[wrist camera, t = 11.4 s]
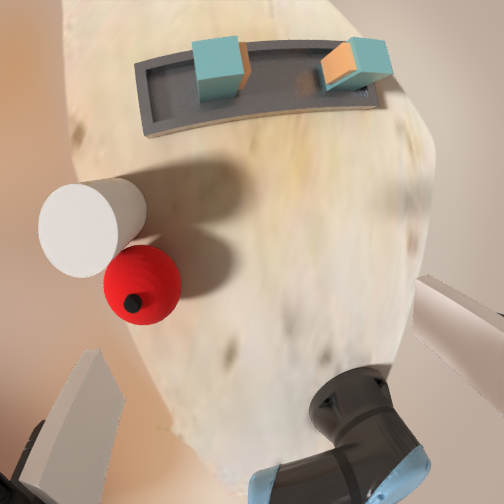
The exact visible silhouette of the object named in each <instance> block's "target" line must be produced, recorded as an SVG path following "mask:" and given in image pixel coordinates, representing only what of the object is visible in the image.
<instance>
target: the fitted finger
mask: <svg viewBox="0 0 504 504" xmlns="http://www.w3.org/2000/svg"><path fill="white" fill-rule="evenodd" d="M321 65H322V70H323V74H324V79H325V83H326V88H327V91H355V90H357V89H360V88H362V87H364V86H366V85H369V84H371V83H373V82H376V81H378V80H380V79H383V78H385V77H388V76H390V75H392V74H393V70H392V66H391V62H390V58H389V55H388V51H387V48H386V45H385V41H383V40H375V39H367V38H358V37H352V38H350V39H349V40H348V41H346V42H343V43H342V44H340V45H339V46H338V47H337V48H335V49H334V50H333V51H332V52H331V53H329V54H328V55H327V56H326V57H325V58H323V59H322V60H321Z"/></svg>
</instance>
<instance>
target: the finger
mask: <svg viewBox="0 0 504 504" xmlns="http://www.w3.org/2000/svg"><path fill="white" fill-rule="evenodd" d="M192 48H193V57H194V65H195V73H196V79H197V86H198V92H199V98H200V103H202V102H207V101H213V100H219V99H226V98H233V97H235V96H236V93H237V91H238V90H241V89H243V88H244V86H245V84H246V82H247V80H248V77H249V75H250V73H251V67H250V62H249V57H248V51H247V46H246V42H240V43H238V38H237V36H231V37H223V38H215V39H208V40H201V41H195V42H192Z"/></svg>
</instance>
